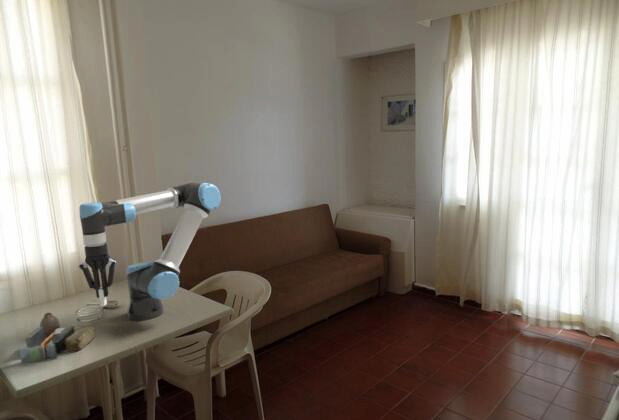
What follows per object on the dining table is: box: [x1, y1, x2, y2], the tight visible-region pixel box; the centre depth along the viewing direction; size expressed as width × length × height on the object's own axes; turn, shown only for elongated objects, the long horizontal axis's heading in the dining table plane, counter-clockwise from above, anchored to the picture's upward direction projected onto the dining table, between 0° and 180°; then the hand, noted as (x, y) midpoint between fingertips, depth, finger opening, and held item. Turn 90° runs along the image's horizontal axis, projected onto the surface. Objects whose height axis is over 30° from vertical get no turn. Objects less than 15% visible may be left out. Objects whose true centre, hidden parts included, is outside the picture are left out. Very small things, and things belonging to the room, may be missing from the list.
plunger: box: [41, 325, 76, 358], centre depth 160 cm, size 4×18×6 cm, turn 8°
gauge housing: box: [18, 326, 58, 363], centre depth 159 cm, size 12×14×7 cm
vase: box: [39, 312, 61, 337], centre depth 174 cm, size 7×7×9 cm
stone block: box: [65, 326, 95, 353], centre depth 163 cm, size 6×12×5 cm, turn 178°
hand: (103, 304), depth 162 cm, fingers closed
